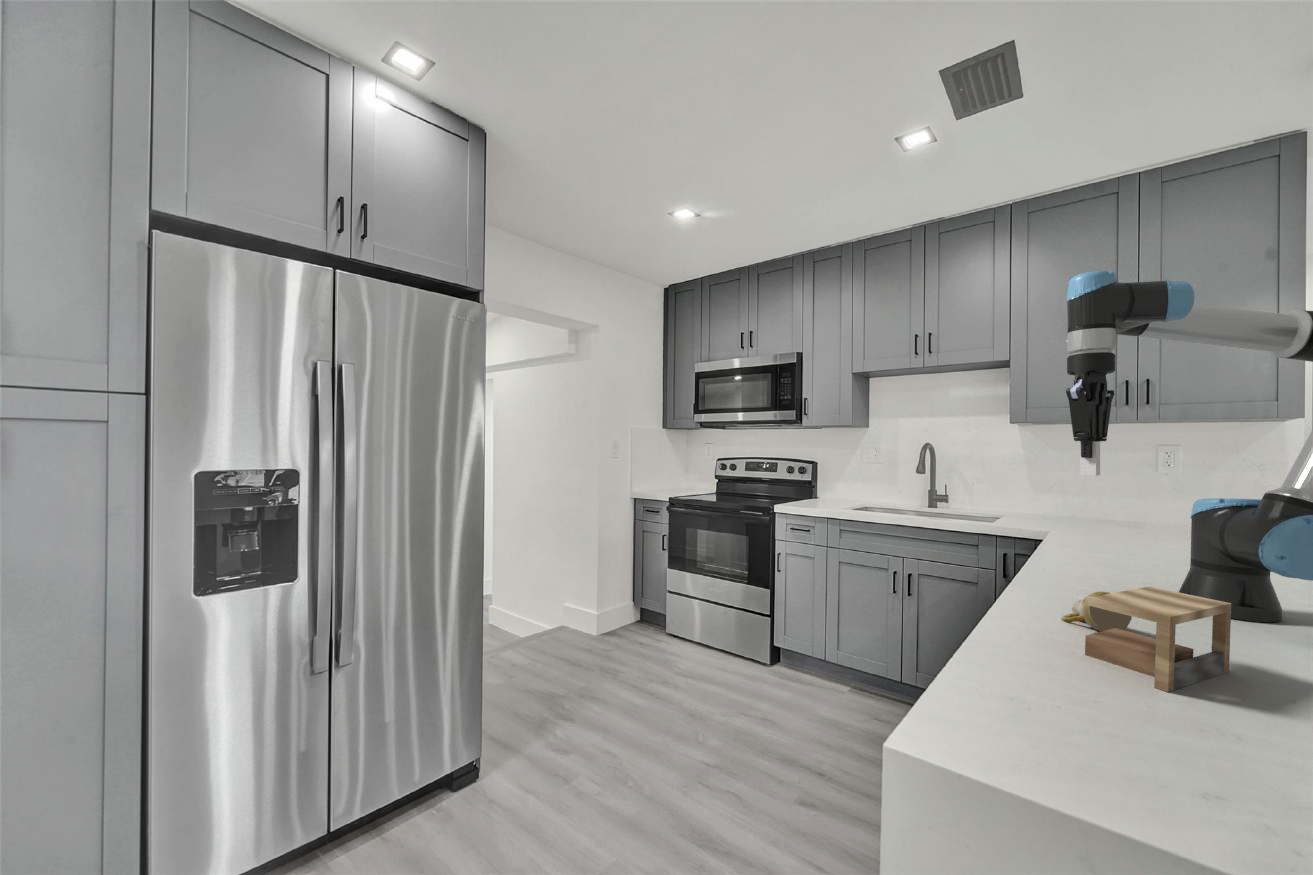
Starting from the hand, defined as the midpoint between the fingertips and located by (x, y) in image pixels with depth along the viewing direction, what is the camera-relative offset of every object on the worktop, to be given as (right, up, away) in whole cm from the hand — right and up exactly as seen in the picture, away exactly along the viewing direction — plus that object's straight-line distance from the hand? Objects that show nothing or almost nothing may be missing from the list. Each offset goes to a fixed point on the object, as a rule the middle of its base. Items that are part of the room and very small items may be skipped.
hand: (1090, 474), depth 111 cm
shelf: (-9, -27, -25) cm, 38 cm away
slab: (-10, -28, -23) cm, 38 cm away
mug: (-4, -28, -6) cm, 29 cm away
